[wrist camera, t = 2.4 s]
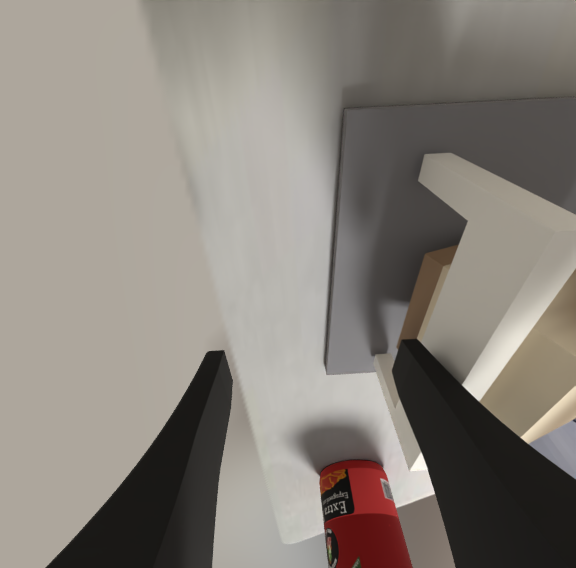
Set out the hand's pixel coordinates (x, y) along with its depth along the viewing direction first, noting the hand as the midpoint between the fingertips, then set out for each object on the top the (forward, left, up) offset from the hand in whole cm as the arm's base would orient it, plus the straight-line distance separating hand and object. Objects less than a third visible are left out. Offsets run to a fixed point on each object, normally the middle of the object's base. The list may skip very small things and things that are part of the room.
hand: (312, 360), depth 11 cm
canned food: (-6, +29, -5) cm, 30 cm away
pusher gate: (-5, 0, -5) cm, 7 cm away
